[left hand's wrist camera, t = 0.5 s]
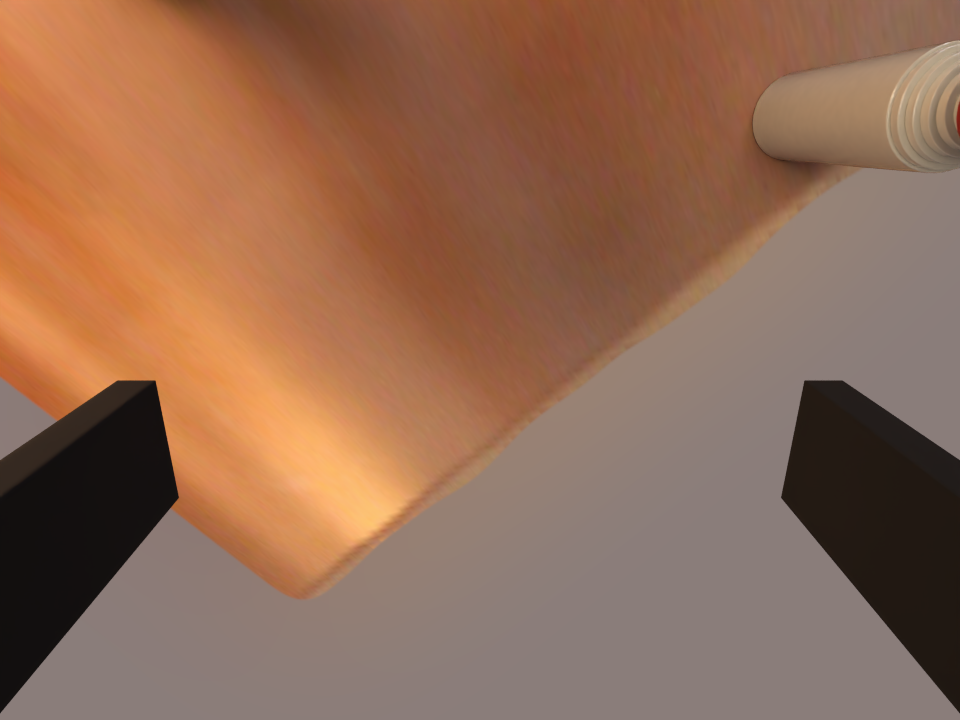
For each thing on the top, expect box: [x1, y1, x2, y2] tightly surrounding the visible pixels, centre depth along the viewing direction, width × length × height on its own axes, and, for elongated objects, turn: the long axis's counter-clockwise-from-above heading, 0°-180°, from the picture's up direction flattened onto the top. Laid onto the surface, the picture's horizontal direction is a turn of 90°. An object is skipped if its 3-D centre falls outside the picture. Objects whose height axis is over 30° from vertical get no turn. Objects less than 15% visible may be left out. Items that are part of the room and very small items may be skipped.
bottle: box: [753, 40, 960, 173], centre depth 28 cm, size 5×5×18 cm
